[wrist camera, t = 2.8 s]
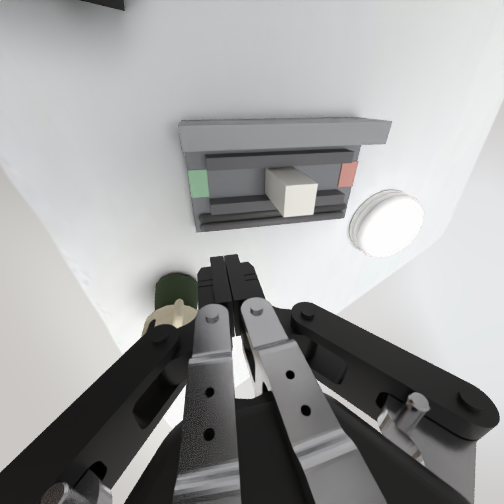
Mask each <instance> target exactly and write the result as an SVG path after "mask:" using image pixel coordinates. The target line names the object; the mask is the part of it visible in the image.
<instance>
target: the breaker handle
mask: <svg viewBox="0 0 504 504" xmlns="http://www.w3.org/2000/svg"><path fill="white" fill-rule="evenodd" d="M317 187H318V183H316V182H315V181H313V180H312V179H311V178H309V177H308V176H306V175H305V174H303V173H302V172H300V171H299V170H297V169H296V168H294V167H293V166H290V167H271V168H266V171H265V194H266V195H267V196H268V198H269V199H270V200H271V202H272V203H273V204H274V206H275V207H276V208H277V209H278V211H279V212H280V213H281V215H282V216H283V217H293V216H304V215H313V213H314V207H315V200H316V193H317Z"/></svg>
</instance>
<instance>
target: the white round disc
mask: <svg viewBox="0 0 504 504" xmlns="http://www.w3.org/2000/svg"><path fill="white" fill-rule="evenodd" d="M423 218H424V211H423V207H422V205H421V203H420V202H419V201H418V200H417V199H416V198H414V197H411V196H409V195H407V194H404V193H402V192H400V191H396V190H388V191H383V192H380V193H378V194H375V195H374V196H372V197H370V198H369V199H368V200H367V201H365V202H364V203H363V204H362V205H361V206H360V207H359V209H358V210H357V211H356V213H355V215H354V217H353V219H352V221H351V224H350V237H351V240H352V241H353V243H354V244H355V245H356V246H357V247H358V248H359V249H360V250H361V251H363V253H365V254H366V255H368V256H370V257H373V258H383V257H387V256H390V255H393V254H395V253H397V252H399V251H400V250H402V249H403V248H405V247H406V246H407V245H408V244H409V243H410V242H411V241H412V240H413V239H414V238H415V236H416V235H417V234H418V232H419V230H420V228H421V226H422V222H423Z"/></svg>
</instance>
